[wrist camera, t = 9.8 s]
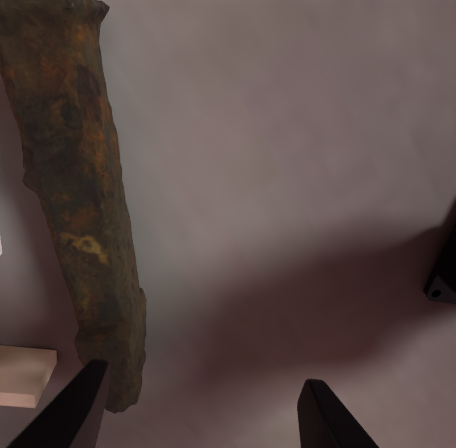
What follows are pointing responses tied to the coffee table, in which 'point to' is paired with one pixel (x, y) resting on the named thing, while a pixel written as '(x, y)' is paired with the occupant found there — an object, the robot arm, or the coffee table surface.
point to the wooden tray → (24, 374)
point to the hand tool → (78, 176)
